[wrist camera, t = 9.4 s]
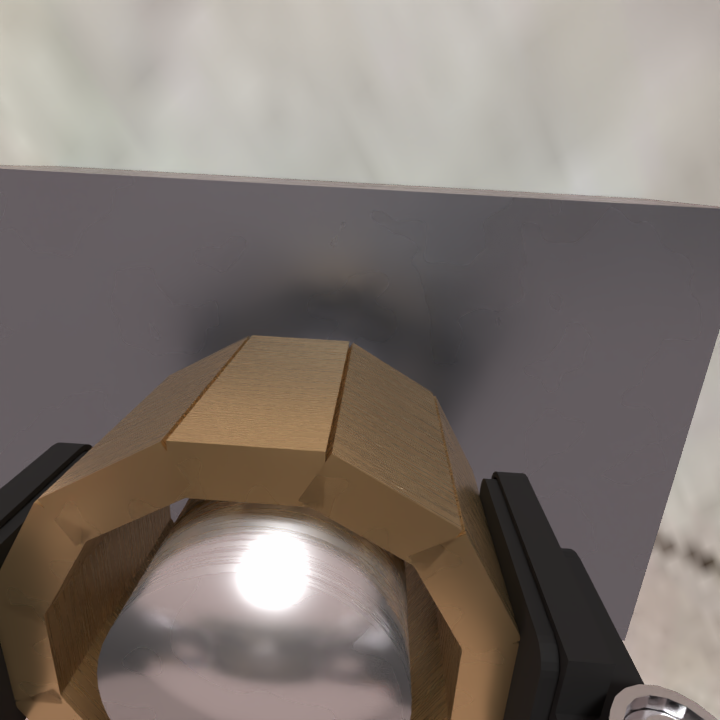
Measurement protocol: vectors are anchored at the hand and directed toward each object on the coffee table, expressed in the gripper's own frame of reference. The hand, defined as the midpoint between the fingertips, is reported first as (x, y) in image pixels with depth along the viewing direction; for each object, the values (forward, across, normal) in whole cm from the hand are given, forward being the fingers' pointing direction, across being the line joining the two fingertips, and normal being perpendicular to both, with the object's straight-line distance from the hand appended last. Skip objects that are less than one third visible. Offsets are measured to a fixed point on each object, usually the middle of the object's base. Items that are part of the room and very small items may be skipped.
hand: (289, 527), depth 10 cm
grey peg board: (+9, 0, 0) cm, 9 cm away
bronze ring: (+1, 0, 0) cm, 1 cm away
